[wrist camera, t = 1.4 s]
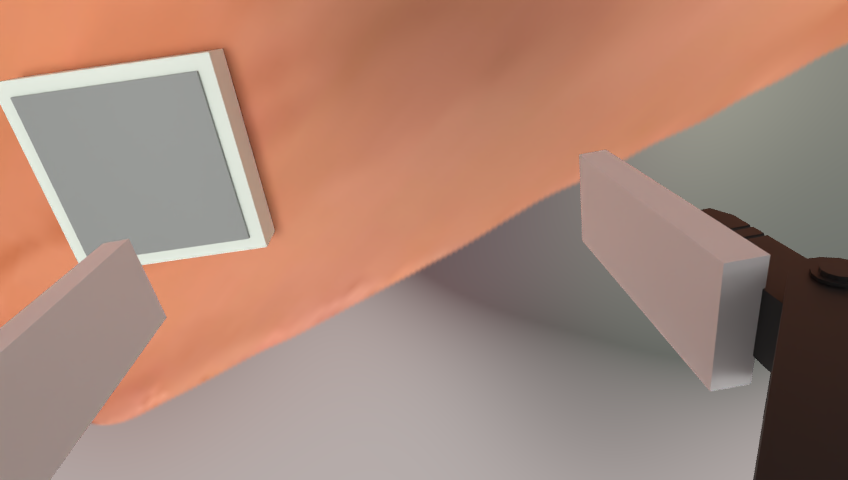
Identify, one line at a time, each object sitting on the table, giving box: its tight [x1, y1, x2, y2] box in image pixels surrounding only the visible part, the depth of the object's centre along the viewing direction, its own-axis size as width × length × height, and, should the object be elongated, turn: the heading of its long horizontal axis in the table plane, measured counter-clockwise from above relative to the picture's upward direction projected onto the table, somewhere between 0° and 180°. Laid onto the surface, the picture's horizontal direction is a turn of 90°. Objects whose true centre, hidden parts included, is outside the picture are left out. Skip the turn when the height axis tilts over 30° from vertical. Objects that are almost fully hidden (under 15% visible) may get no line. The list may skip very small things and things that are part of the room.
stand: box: [0, 49, 275, 265], centre depth 35 cm, size 14×14×3 cm
